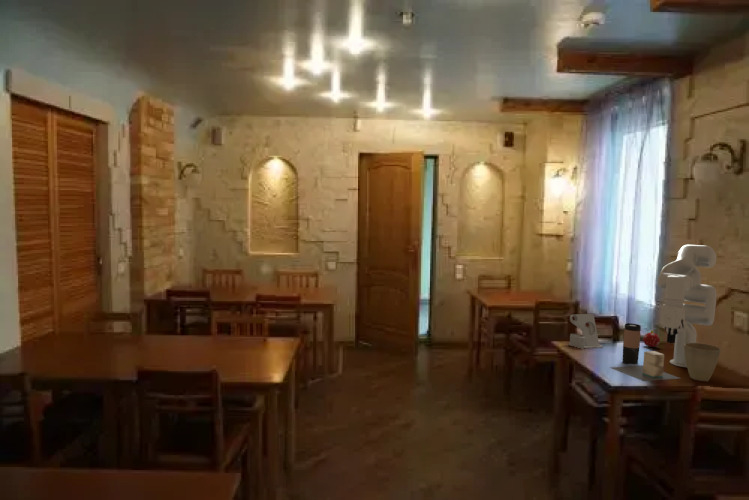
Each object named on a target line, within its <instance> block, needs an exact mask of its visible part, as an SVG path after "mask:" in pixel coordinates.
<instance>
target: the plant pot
mask: <svg viewBox="0 0 749 500" xmlns="http://www.w3.org/2000/svg"><path fill="white" fill-rule="evenodd" d="M684 350H685V359H686V364H687V367H686V368H687V371H688V375H689V378H690V379H693V380H695V381H699V382H700V381H701V382H709V381H710V379H711V377H712V375H713V373H714V372H715V369H716V367H717V364H718V360H719V358H720V353H721V351H722V350H721V348H720V347H719V346H716V345H711V344H707V343H700V342H696V343H685V344H684Z"/></svg>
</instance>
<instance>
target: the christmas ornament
mask: <svg viewBox="0 0 749 500" xmlns="http://www.w3.org/2000/svg"><path fill="white" fill-rule="evenodd" d="M642 339H643V341H642V342H643V343H644V345H646V347H649V348H656V347H658V345H659V344H660V342H661V341H660V336H659V335H658V334H657V333H655V332H654V330H653V329H652V330H651V331H650V332H647V333H645V334H644V335H643V338H642Z"/></svg>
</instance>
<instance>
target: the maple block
mask: <svg viewBox="0 0 749 500" xmlns="http://www.w3.org/2000/svg"><path fill="white" fill-rule="evenodd" d="M664 362H665V354H664V353H661V352H660V351H659V352H658V351H655V350H653V351H652V350H651V351H644V354H643V362H642V363H643V375H646V376H648V377H651V378H661V377H663V372H664V364H665V363H664Z"/></svg>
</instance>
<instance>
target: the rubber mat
mask: <svg viewBox="0 0 749 500" xmlns="http://www.w3.org/2000/svg"><path fill="white" fill-rule="evenodd" d="M609 369H612V370H615V371H617V372H620V373H622V374H624V375H627V376H629V377H632V378H635V379H637V380H640V381H642V382H650V381H652V382H653V381H664V380H665V381H666V380H678V379H681V377H679V376H675V375H673V374H670V373H667V372H665V371H663V377H661V378H651V377H648V376H646V375H643V365H630V366H629V365H628V366H627V365H626V366H613V367H612V366H611V367H609Z"/></svg>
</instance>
